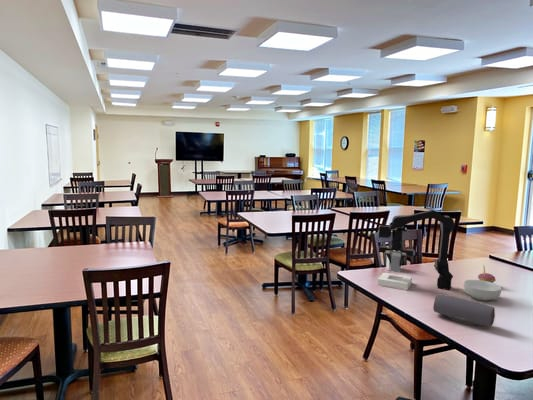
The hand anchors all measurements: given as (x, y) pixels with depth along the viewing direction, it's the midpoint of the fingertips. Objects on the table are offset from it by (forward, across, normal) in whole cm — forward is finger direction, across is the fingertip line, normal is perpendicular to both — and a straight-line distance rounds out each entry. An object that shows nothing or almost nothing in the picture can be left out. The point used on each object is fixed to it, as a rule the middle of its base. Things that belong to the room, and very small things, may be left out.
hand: (395, 265), depth 217 cm
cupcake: (+11, -45, -24) cm, 52 cm away
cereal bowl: (+11, -43, -1) cm, 44 cm away
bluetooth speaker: (+11, -36, +36) cm, 52 cm away
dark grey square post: (+3, 0, 0) cm, 3 cm away
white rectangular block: (+11, +7, -30) cm, 33 cm away
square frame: (+11, 0, 0) cm, 11 cm away
